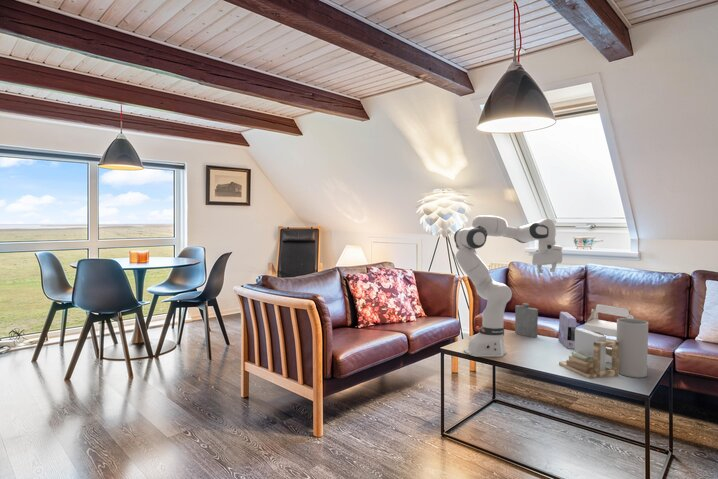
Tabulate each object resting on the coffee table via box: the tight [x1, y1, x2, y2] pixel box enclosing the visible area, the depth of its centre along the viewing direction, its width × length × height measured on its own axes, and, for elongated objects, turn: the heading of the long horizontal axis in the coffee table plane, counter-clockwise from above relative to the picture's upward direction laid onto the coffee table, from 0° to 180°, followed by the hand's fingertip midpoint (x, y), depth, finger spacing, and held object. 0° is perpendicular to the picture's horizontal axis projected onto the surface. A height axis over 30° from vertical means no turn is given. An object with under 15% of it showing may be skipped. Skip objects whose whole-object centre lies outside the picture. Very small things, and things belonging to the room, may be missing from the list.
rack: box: [558, 340, 619, 379], centre depth 213 cm, size 16×20×16 cm
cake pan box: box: [558, 311, 577, 350], centre depth 257 cm, size 19×5×18 cm, turn 170°
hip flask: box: [514, 302, 539, 338], centre depth 280 cm, size 16×4×20 cm, turn 32°
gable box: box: [584, 303, 635, 364], centre depth 229 cm, size 22×13×28 cm, turn 32°
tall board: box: [573, 327, 607, 371], centre depth 214 cm, size 4×16×18 cm, turn 12°
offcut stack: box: [566, 351, 594, 374], centre depth 210 cm, size 6×13×7 cm, turn 12°
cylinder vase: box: [616, 317, 649, 379], centre depth 207 cm, size 12×12×25 cm
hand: (546, 272), depth 245 cm, fingers open, 8 cm apart
